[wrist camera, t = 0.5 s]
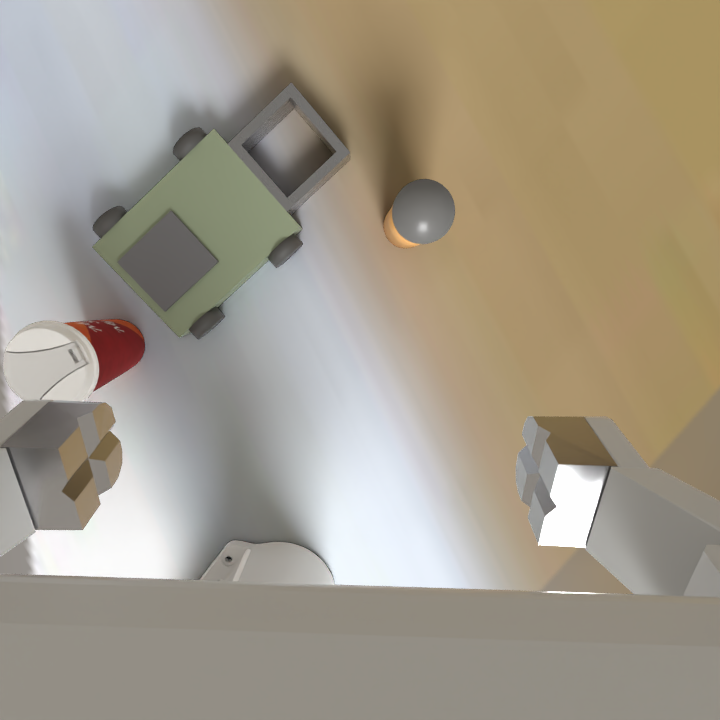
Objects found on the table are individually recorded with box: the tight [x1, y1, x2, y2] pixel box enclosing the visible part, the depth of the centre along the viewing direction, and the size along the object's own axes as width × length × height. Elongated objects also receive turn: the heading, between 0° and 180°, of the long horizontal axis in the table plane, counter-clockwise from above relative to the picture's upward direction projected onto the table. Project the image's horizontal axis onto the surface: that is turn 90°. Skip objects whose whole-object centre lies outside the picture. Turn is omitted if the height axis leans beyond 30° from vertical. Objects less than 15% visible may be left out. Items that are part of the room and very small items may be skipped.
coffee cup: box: [3, 319, 145, 402], centre depth 52 cm, size 8×8×15 cm
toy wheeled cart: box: [92, 128, 303, 339], centre depth 55 cm, size 18×16×4 cm
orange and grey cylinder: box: [384, 179, 455, 248], centre depth 51 cm, size 5×5×14 cm
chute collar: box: [228, 83, 350, 215], centre depth 54 cm, size 9×9×4 cm
